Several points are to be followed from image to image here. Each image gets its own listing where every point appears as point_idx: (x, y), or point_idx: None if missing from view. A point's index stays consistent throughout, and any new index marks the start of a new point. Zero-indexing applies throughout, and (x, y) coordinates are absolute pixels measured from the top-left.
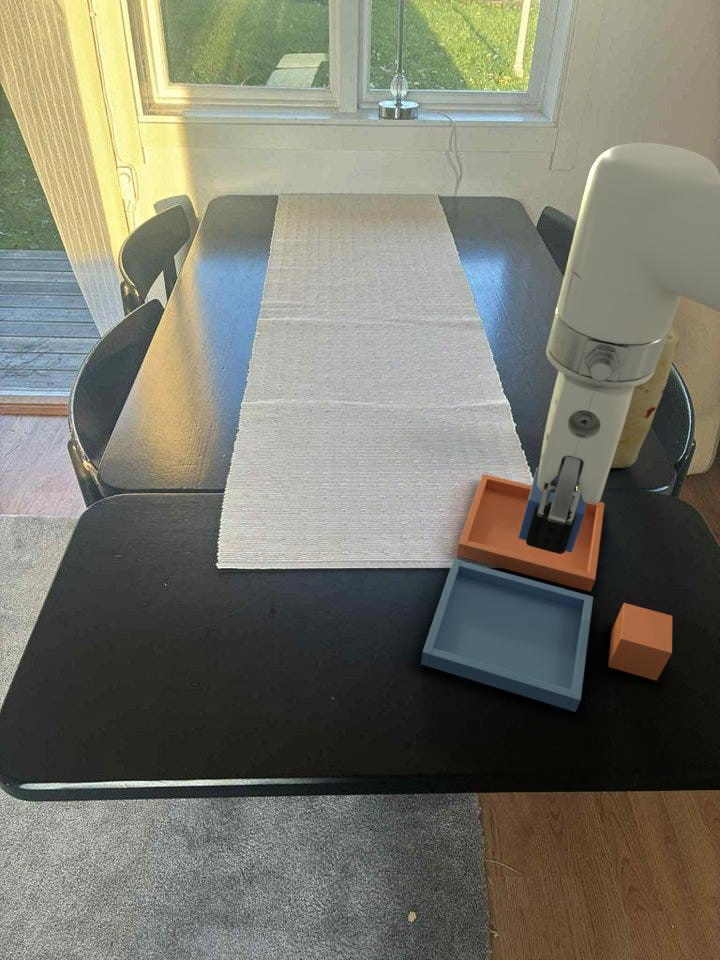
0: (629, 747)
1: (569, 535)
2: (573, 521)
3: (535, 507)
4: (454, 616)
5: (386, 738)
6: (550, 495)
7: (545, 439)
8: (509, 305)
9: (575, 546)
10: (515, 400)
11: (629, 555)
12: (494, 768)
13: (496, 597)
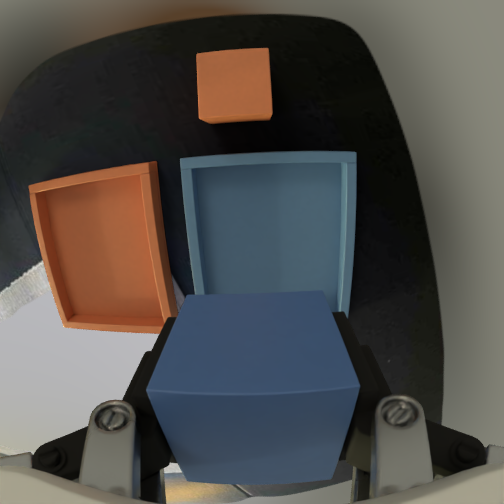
0: (366, 93)
1: (361, 349)
2: (376, 389)
3: (342, 459)
4: None
5: (416, 314)
6: (296, 461)
7: None
8: None
9: (97, 197)
10: None
11: (81, 132)
12: (426, 223)
13: (223, 270)
